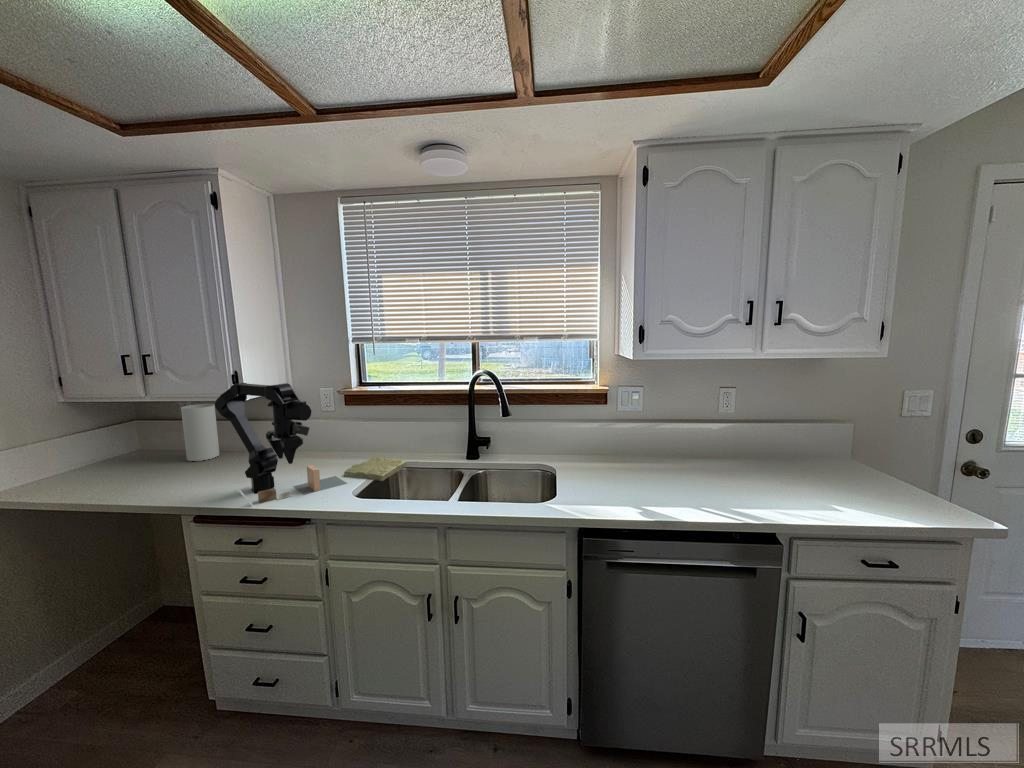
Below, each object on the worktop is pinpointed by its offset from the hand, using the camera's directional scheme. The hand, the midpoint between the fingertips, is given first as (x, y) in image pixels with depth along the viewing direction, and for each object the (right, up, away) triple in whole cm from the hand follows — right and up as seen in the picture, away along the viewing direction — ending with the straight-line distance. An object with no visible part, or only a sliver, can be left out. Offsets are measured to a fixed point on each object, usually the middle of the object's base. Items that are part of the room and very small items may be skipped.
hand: (285, 461), depth 150 cm
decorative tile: (+24, -10, +26) cm, 37 cm away
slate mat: (+8, -11, +9) cm, 17 cm away
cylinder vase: (-65, -7, +46) cm, 80 cm away
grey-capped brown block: (-2, -13, -4) cm, 14 cm away
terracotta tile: (+8, -11, +5) cm, 15 cm away
